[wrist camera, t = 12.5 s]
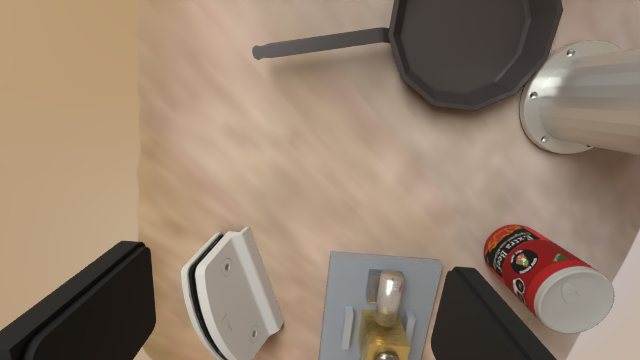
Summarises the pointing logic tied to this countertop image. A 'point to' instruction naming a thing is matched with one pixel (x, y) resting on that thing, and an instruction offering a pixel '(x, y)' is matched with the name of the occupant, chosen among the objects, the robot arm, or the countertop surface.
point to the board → (350, 299)
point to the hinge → (230, 296)
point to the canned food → (549, 279)
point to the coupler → (381, 339)
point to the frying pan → (454, 46)
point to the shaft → (385, 294)
